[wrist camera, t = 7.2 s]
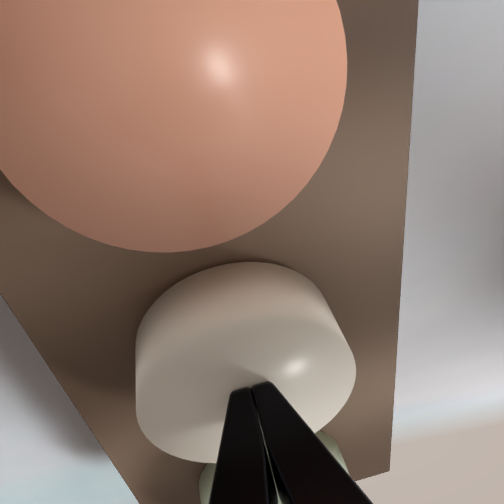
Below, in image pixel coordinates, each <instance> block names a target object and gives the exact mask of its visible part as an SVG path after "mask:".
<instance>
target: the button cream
mask: <svg viewBox="0 0 504 504" xmlns="http://www.w3.org/2000/svg"><path fill="white" fill-rule="evenodd" d="M135 362H136V415H137V421H138V424H139V426H140V428H141V430H142V432H143V433H144V435H145V436H146V438H147V439H148V440H149V441H150V442H151V443H152V444H153V445H155V446H156V447H158V448H159V449H161V450H162V451H164V452H166V453H168V454H170V455H173V456H175V457H178V458H181V459H185V460H189V461H195V462H202V463H216V462H217V457H218V452H219V447H220V441H221V436H222V431H223V426H224V421H225V416H226V411H227V405H228V400H229V396H230V393H231V392H232V391H234V390H237V389H241V388H245V387H250V388H251V390H252V386H253V385H256V384H259V383H263V382H267V381H270V382H272V383H273V384H274V385H275V386H276V387H277V388H278V390H279V391H280V392H281V393H282V394H283V396H284V397H285V398H286V399H287V401H288V402H289V403H290V404H291V405H292V407H293V408H294V409H295V410H296V411H297V413H298V414H299V415H300V416H301V417H302V419H303V420H304V421H305V422H306V423H307V425H308V426H309V427H310V428H311V429H312V431H313V432H314V433H316V432H317V431H319V430H320V429H321V428H323V427H324V426H325V425H326V424H327V423H329V422H330V421H331V420H332V419H333V418H334V417H335V416H336V415H337V414H338V412H339V411H340V410H341V409H342V407H343V406H344V405H345V403H346V401H347V400H348V398H349V396H350V394H351V392H352V389H353V387H354V383H355V379H356V364H355V359H354V356H353V353H352V351H351V349H350V347H349V345H348V343H347V341H346V339H345V337H344V335H343V334H342V332H341V330H340V328H339V326H338V324H337V322H336V320H335V318H334V316H333V314H332V312H331V310H330V308H329V306H328V304H327V302H326V300H325V298H324V296H323V295H322V293H321V291H320V290H319V289H318V288H317V287H316V285H315V284H314V283H313V282H311V281H310V280H309V279H308V278H306V277H305V276H303V275H302V274H300V273H298V272H296V271H294V270H292V269H289V268H287V267H284V266H280V265H276V264H271V263H263V262H238V263H229V264H224V265H219V266H215V267H212V268H209V269H205V270H202V271H200V272H198V273H195V274H193V275H191V276H189V277H187V278H185V279H183V280H181V281H180V282H178V283H176V284H175V285H174V286H172V287H171V288H169V289H168V290H167V291H165V292H164V293H163V294H162V295H161V296H160V297H159V298H158V299H157V300H156V301H155V302H154V303H153V304H152V305H151V307H150V308H149V309H148V311H147V312H146V314H145V315H144V317H143V319H142V321H141V323H140V326H139V328H138V331H137V336H136V346H135ZM252 394H253V393H252ZM253 398H254V397H253ZM254 402H255V401H254ZM255 406H256V405H255ZM256 410H257V409H256ZM257 414H258V413H257ZM258 418H259V417H258ZM259 422H260V421H259ZM260 426H261V425H260ZM261 430H262V429H261ZM262 434H263V433H262ZM263 438H264V437H263ZM264 442H265V441H264ZM265 446H266V445H265ZM266 450H267V449H266ZM267 454H268V453H267Z"/></svg>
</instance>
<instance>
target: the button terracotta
mask: <svg viewBox="0 0 504 504" xmlns="http://www.w3.org/2000/svg"><path fill="white" fill-rule="evenodd" d="M346 85H347V50H346V39H345V32H344V28H343V23H342V18H341V14H340V10H339V7H338V4H337V1H336V0H0V170H1V171H2V172H3V173H4V175H5V176H6V177H7V178H8V180H9V181H10V182H11V183H12V185H13V186H14V187H15V188H17V189H18V190H19V191H20V192H21V193H22V194H23V195H24V196H25V197H26V198H27V199H28V200H29V201H30V202H31V203H32V204H34V205H35V206H36V207H37V208H39V209H40V210H41V211H43V212H44V213H45V214H46V215H48V216H49V217H51V218H52V219H54V220H56V221H57V222H59V223H61V224H62V225H64V226H65V227H67V228H69V229H71V230H73V231H75V232H77V233H79V234H82V235H84V236H86V237H88V238H91V239H94V240H96V241H99V242H102V243H105V244H108V245H112V246H116V247H120V248H125V249H129V250H137V251H145V252H169V253H170V252H181V251H191V250H196V249H201V248H207V247H211V246H214V245H217V244H220V243H224V242H227V241H230V240H232V239H234V238H236V237H239V236H241V235H243V234H246V233H248V232H249V231H251V230H253V229H255V228H256V227H258V226H260V225H262V224H263V223H265V222H266V221H268V220H269V219H270V218H272V217H273V216H274V215H276V214H277V213H279V212H280V211H281V210H282V209H283V208H284V207H285V206H286V205H288V204H289V203H290V202H291V201H292V200H293V199H294V198H295V197H296V196H297V195H298V194H299V192H300V191H301V190H302V189H303V188H304V187H305V186H306V185H307V183H308V182H309V180H310V179H311V178H312V176H313V175H314V173H315V172H316V171H317V169H318V168H319V166H320V164H321V162H322V160H323V159H324V157H325V155H326V153H327V151H328V150H329V147H330V145H331V142H332V140H333V138H334V135H335V133H336V130H337V127H338V124H339V120H340V116H341V113H342V109H343V104H344V98H345V91H346Z"/></svg>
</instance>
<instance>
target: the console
mask: <svg viewBox="0 0 504 504" xmlns="http://www.w3.org/2000/svg"><path fill="white" fill-rule="evenodd" d="M336 1H337V4H338V7H339V10H340V14H341V18H342V23H343V28H344V32H345V39H346V50H347V85H346V91H345V98H344V104H343V109H342V113H341V116H340V120H339V124H338V127H337V130H336V133H335V135H334V138H333V140H332V142H331V145H330V147H329V150H328V151H327V153H326V155H325V157H324V159H323V160H322V162H321V164H320V166H319V168H318V169H317V171H316V172H315V173H314V175H313V176H312V178H311V179H310V180H309V182H308V183H307V185H306V186H305V187H304V188H303V189H302V190H301V191H300V192H299V194H298V195H297V196H296V197H295V198H294V199H293V200H292V201H291V202H290V203H289V204H288V205H286V206H285V207H284V208H283V209H282V210H281V211H280V212H279V213H277V214H276V215H274V216H273V217H272V218H270V219H269V220H268V221H266V222H265V223H263V224H262V225H260V226H258V227H256V228H255V229H253V230H251V231H249V232H248V233H246V234H243V235H241V236H239V237H236V238H234V239H232V240H230V241H227V242H224V243H220V244H217V245H214V246H211V247H207V248H201V249H196V250H191V251H181V252H170V253H169V252H145V251H137V250H129V249H125V248H120V247H116V246H112V245H108V244H105V243H102V242H99V241H96V240H94V239H91V238H88V237H86V236H84V235H82V234H79V233H77V232H75V231H73V230H71V229H69V228H67V227H65V226H64V225H62V224H61V223H59V222H57V221H56V220H54V219H52V218H51V217H49V216H48V215H46V214H45V213H44V212H43V211H41V210H40V209H39V208H37V207H36V206H35V205H34V204H32V203H31V202H30V201H29V200H28V199H27V198H26V197H25V196H24V195H23V194H22V193H21V192H20V191H19V190H18V189H17V188H15V187H14V186H13V185H12V183H11V182H10V181H9V180H8V178H7V177H6V176H5V175H4V173H3V172H2V171H1V170H0V294H1V295H2V297H3V298H4V300H5V301H6V303H7V304H8V306H9V307H10V309H11V310H12V312H13V313H14V315H15V316H16V318H17V319H18V321H19V322H20V324H21V325H22V327H23V328H24V330H25V331H26V333H27V334H28V336H29V337H30V339H31V340H32V342H33V343H34V345H35V346H36V348H37V350H38V351H39V353H40V354H41V356H42V357H43V359H44V360H45V362H46V363H47V365H48V366H49V368H50V369H51V371H52V372H53V374H54V375H55V377H56V378H57V380H58V381H59V383H60V384H61V386H62V387H63V389H64V390H65V392H66V393H67V395H68V396H69V398H70V399H71V401H72V402H73V404H74V405H75V407H76V408H77V410H78V411H79V413H80V414H81V416H82V417H83V419H84V420H85V422H86V424H87V425H88V427H89V428H90V430H91V431H92V433H93V434H94V436H95V437H96V439H97V440H98V442H99V443H100V445H101V446H102V448H103V449H104V451H105V452H106V454H107V455H108V457H109V458H110V460H111V461H112V463H113V464H114V466H115V467H116V469H117V470H118V472H119V473H120V475H121V476H122V478H123V479H124V481H125V482H126V484H127V485H128V487H129V488H130V490H131V491H132V493H133V494H134V496H135V498H136V499H137V501H138V502H139V504H201V500H200V492H199V479H200V476H201V473H202V471H203V470H204V468H205V466H206V465H207V464H208V463H202V462H195V461H189V460H185V459H181V458H178V457H175V456H173V455H170V454H168V453H166V452H164V451H162V450H161V449H159V448H158V447H156V446H155V445H153V444H152V443H151V442H150V441H149V440H148V439H147V438H146V436H145V435H144V433H143V432H142V430H141V428H140V426H139V424H138V421H137V415H136V362H135V346H136V336H137V331H138V328H139V326H140V323H141V321H142V319H143V317H144V315H145V314H146V312H147V311H148V309H149V308H150V307H151V305H152V304H153V303H154V302H155V301H156V300H157V299H158V298H159V297H160V296H161V295H162V294H163V293H164V292H165V291H167V290H168V289H169V288H171V287H172V286H174V285H175V284H176V283H178V282H180V281H181V280H183V279H185V278H187V277H189V276H191V275H193V274H195V273H198V272H200V271H202V270H205V269H209V268H212V267H215V266H219V265H224V264H229V263H238V262H263V263H271V264H276V265H280V266H284V267H287V268H289V269H292V270H294V271H296V272H298V273H300V274H302V275H303V276H305V277H306V278H308V279H309V280H310V281H311V282H313V283H314V284H315V285H316V287H317V288H318V289H319V290H320V291H321V293H322V295H323V296H324V298H325V300H326V302H327V304H328V306H329V308H330V310H331V312H332V314H333V316H334V318H335V320H336V322H337V324H338V326H339V328H340V330H341V332H342V334H343V335H344V337H345V339H346V341H347V343H348V345H349V347H350V349H351V351H352V353H353V356H354V359H355V364H356V379H355V383H354V387H353V389H352V392H351V394H350V396H349V398H348V400H347V401H346V403H345V405H344V406H343V407H342V409H341V410H340V411H339V412H338V414H337V415H336V416H335V417H334V418H333V419H332V420H331V421H330V422H329V423H327V424H326V425H325V426H324V427H323V428H321V429H320V430H319V431H321V432H324V433H326V434H327V435H329V436H330V437H332V438H333V439H334V440H335V441H336V443H337V445H338V447H339V449H340V452H341V454H342V457H343V459H344V462H345V464H346V467H347V469H348V472H349V475H350V476H351V478H352V479H353V480H354V481H357V480H361V479H364V478H367V477H371V476H374V475H378V474H381V473H384V472H388V471H389V469H390V451H391V437H392V421H393V405H394V389H395V372H396V356H397V340H398V324H399V308H400V292H401V275H402V259H403V243H404V227H405V211H406V194H407V178H408V162H409V146H410V130H411V114H412V97H413V81H414V65H415V49H416V33H417V17H418V0H336Z"/></svg>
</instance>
